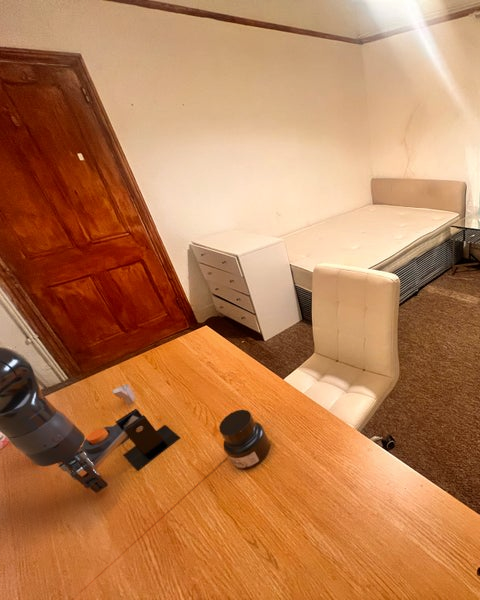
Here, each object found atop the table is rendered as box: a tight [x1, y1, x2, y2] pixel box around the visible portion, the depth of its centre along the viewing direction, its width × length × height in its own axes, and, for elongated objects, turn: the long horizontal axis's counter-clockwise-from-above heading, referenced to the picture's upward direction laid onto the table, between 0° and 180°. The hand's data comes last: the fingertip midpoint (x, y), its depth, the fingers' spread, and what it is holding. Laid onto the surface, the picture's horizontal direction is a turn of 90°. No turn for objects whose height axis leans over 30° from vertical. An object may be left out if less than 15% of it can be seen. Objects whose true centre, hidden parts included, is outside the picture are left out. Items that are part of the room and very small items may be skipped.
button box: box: [80, 423, 130, 463], centre depth 80 cm, size 10×7×4 cm
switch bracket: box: [115, 408, 181, 472], centre depth 76 cm, size 10×8×12 cm
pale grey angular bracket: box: [112, 384, 136, 405], centre depth 92 cm, size 7×2×8 cm, turn 35°
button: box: [86, 427, 109, 445], centre depth 79 cm, size 4×4×2 cm
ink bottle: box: [218, 409, 271, 470], centre depth 74 cm, size 10×9×12 cm
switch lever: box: [93, 415, 139, 471], centre depth 72 cm, size 14×5×2 cm, turn 148°
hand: (96, 480), depth 70 cm, fingers open, 6 cm apart
